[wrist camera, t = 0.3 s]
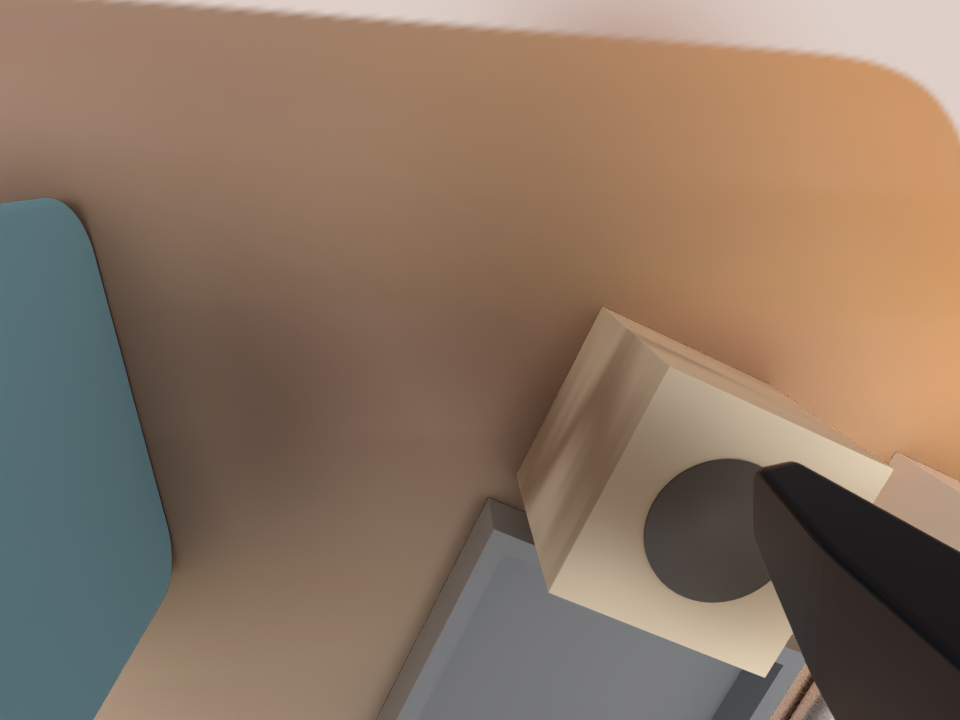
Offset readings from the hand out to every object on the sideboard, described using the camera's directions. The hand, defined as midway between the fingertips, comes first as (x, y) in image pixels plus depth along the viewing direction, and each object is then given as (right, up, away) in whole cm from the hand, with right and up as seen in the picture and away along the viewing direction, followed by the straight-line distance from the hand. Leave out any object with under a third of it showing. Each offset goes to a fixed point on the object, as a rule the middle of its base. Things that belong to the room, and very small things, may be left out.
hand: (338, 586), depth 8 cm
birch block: (+7, 0, +17) cm, 18 cm away
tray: (+4, -9, +19) cm, 22 cm away
